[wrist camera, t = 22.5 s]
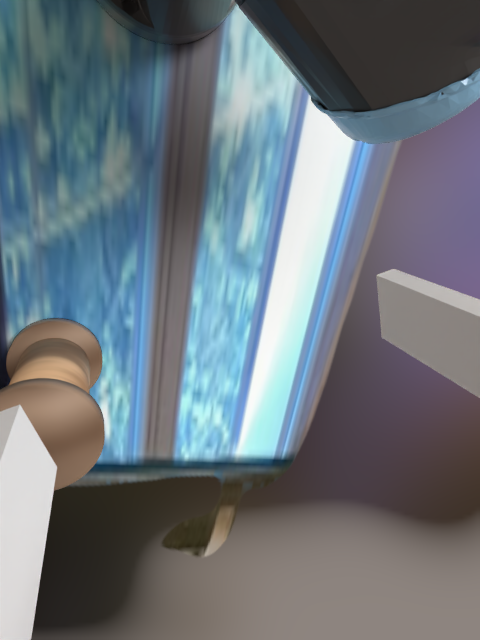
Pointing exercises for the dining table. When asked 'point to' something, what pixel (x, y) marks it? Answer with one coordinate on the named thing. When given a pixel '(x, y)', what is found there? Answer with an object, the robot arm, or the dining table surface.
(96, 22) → the dining table surface
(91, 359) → the bobbin
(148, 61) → the dining table surface
